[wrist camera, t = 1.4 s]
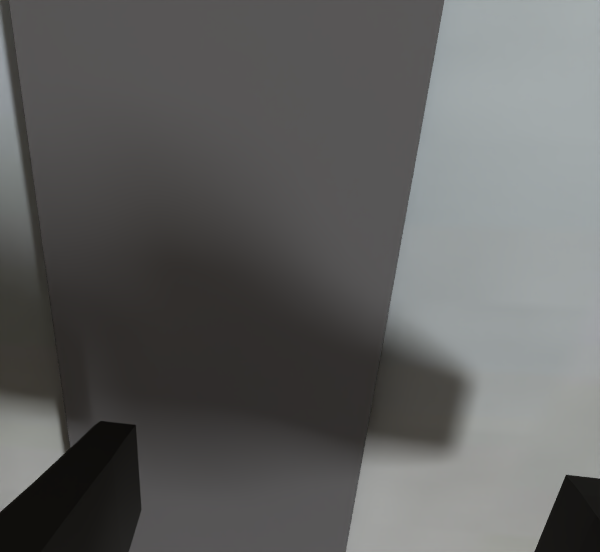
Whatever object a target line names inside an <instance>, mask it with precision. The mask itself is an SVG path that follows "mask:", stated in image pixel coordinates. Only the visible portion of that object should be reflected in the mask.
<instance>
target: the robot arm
mask: <svg viewBox="0 0 600 552" xmlns="http://www.w3.org/2000/svg"><path fill="white" fill-rule="evenodd" d="M141 510H142V509H141V493H140V478H139V463H138V448H137V433H136V425H133V424H124V423H116V422H107V421H100V422H98V423H97V424H95V425H94V426H93V427H92V428H91V429H90V430H89V431H88V432H87V433H86V434H85V435H84V436H83V437H81V438H80V439H79V440H78V441H77V442H76V443H75V444H74V445H73V446H72V447H71V448H70V449H69V450H68V451H67V452H66V453H65V454H64V455H63V456H61V457H60V458H59V459H58V460H57V461H56V462H55V463H54V464H53V465H52V466H51V467H50V468H49V469H48V470H47V471H45V472H44V473H43V474H42V475H41V476H40V477H39V478H38V479H37V480H36V481H35V482H34V483H32V484H31V485H30V486H29V487H28V488H27V489H26V490H25V491H23V492H22V493H21V494H20V495H19V496H18V497H17V498H16V499H14V500H13V501H12V502H11V503H10V504H9V505H8V506H7V507H5V508H4V509H3V510H2V511H1V512H0V552H129V550H130V547H131V543H132V540H133V537H134V533H135V530H136V527H137V523H138V520H139V517H140V513H141ZM535 552H600V479H598V478H589V477H580V476H572V475H566V476H565V479H564V481H563V484H562V486H561V488H560V491H559V493H558V496H557V498H556V501H555V503H554V505H553V508H552V510H551V513H550V515H549V518H548V520H547V523H546V525H545V527H544V530H543V532H542V535H541V537H540V540H539V542H538V544H537V547H536V549H535Z"/></svg>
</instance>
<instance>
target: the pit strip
mask: <svg viewBox="0 0 600 552" xmlns="http://www.w3.org/2000/svg"><path fill="white" fill-rule="evenodd" d="M9 5H10V13H11V20H12V27H13V34H14V42H15V49H16V56H17V64H18V71H19V78H20V85H21V93H22V100H23V107H24V114H25V122H26V129H27V136H28V144H29V151H30V158H31V165H32V173H33V180H34V187H35V195H36V202H37V209H38V216H39V224H40V231H41V238H42V245H43V253H44V260H45V267H46V275H47V282H48V289H49V296H50V304H51V311H52V318H53V326H54V333H55V340H56V347H57V355H58V362H59V369H60V376H61V384H62V391H63V398H64V406H65V413H66V420H67V427H68V435H69V442H70V448H71V447H72V446H73V445H74V444H75V443H76V442H77V441H78V440H79V439H80V438H81V437H83V436H84V435H85V434H86V433H87V432H88V431H89V430H90V429H91V428H92V427H93V426H94V425H95V424H97V423H98V422H100V421H107V422H116V423H124V424H133V425H136V433H137V448H138V463H139V478H140V493H141V509H142V510H141V513H140V517H139V520H138V523H137V527H136V530H135V533H134V537H133V540H132V543H131V547H130V550H129V552H346V547H347V541H348V535H349V530H350V524H351V519H352V513H353V508H354V502H355V496H356V491H357V485H358V480H359V474H360V468H361V463H362V457H363V452H364V446H365V440H366V435H367V429H368V424H369V418H370V413H371V407H372V401H373V396H374V390H375V385H376V379H377V373H378V368H379V362H380V357H381V351H382V345H383V340H384V334H385V329H386V323H387V317H388V312H389V306H390V301H391V295H392V290H393V284H394V278H395V273H396V267H397V262H398V256H399V250H400V245H401V239H402V234H403V228H404V222H405V217H406V211H407V206H408V200H409V195H410V189H411V183H412V178H413V172H414V167H415V161H416V155H417V150H418V144H419V139H420V133H421V127H422V122H423V116H424V111H425V105H426V100H427V94H428V88H429V83H430V77H431V72H432V66H433V60H434V55H435V49H436V44H437V38H438V32H439V27H440V21H441V16H442V10H443V5H444V0H9Z"/></svg>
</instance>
